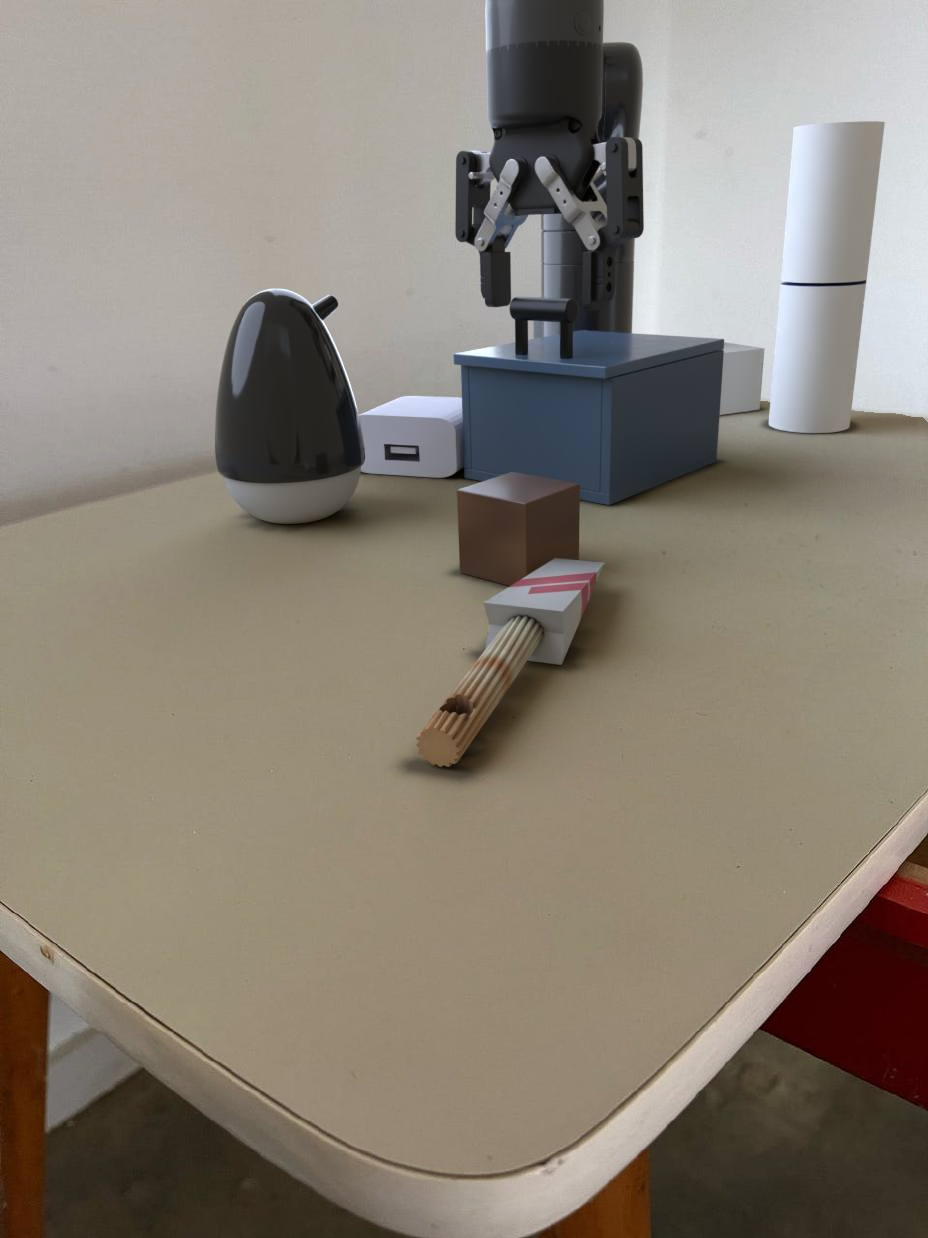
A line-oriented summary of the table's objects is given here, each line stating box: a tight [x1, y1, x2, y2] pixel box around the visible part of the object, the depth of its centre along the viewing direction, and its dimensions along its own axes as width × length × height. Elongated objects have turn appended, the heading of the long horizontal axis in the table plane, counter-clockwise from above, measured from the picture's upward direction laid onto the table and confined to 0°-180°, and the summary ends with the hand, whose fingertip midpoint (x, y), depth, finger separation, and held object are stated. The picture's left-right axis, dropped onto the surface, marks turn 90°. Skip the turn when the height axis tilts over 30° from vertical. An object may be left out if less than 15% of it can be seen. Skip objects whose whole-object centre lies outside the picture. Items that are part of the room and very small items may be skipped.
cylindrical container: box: [768, 120, 886, 434], centre depth 87 cm, size 7×7×25 cm
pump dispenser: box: [214, 288, 365, 525], centre depth 68 cm, size 10×10×15 cm
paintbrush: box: [415, 558, 605, 768], centre depth 46 cm, size 4×3×20 cm
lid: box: [453, 296, 725, 379], centre depth 75 cm, size 16×14×5 cm
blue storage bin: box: [460, 350, 724, 506], centre depth 78 cm, size 16×14×9 cm
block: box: [456, 472, 581, 587], centre depth 57 cm, size 5×5×5 cm
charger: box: [358, 395, 464, 479], centre depth 85 cm, size 5×9×15 cm
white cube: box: [720, 341, 765, 416], centre depth 100 cm, size 6×6×6 cm
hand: (544, 307), depth 70 cm, fingers open, 8 cm apart
